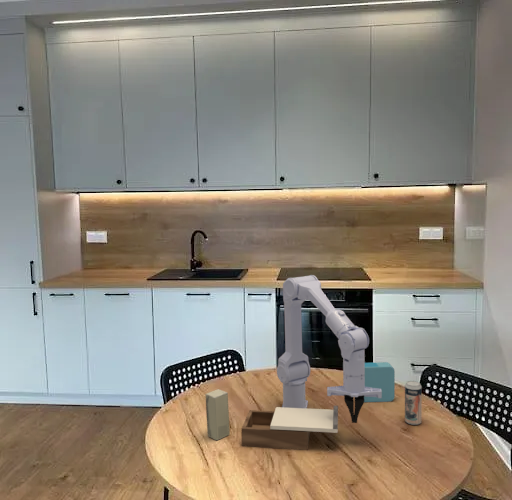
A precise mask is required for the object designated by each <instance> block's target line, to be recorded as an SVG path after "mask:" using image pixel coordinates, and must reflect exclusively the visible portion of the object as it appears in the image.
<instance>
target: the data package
mask: <svg viewBox="0 0 512 500" xmlns="http://www.w3.org/2000/svg"><path fill="white" fill-rule="evenodd" d="M365 387H371V388H378V389H381V391H382V398H377V397H364V403H380V402H381V403H383V402H384V403H385V402H387V403H389V402H392V401H394V399H395V397H396V396H395V392H396V391H395V390H396V389H395V368H394V367H393V366H392V365H391V363H390V362H387V361H385V362H382V361H381V362H380V361H379V362H377V361H376V362H365Z"/></svg>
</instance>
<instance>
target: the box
mask: <svg viewBox="0 0 512 500" xmlns="http://www.w3.org/2000/svg"><path fill="white" fill-rule="evenodd" d="M228 394H229V393H228V392H227V391H224V390H221V389H219V388H218V389H215V390H213V391H209V392H207V393H205V411H206V429H207V437H209V438H211V439H213V440H215V441H219V440H221V439H223V438H225V437H228V436H229V435H230V429H231V428H230V415H229V412H230V410H229V395H228Z"/></svg>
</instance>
